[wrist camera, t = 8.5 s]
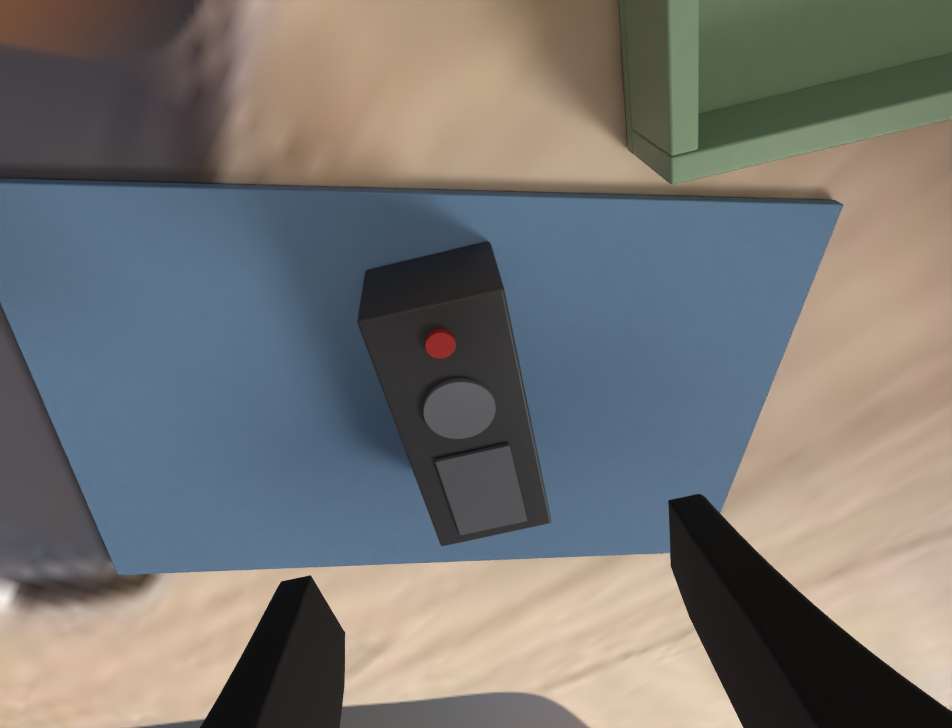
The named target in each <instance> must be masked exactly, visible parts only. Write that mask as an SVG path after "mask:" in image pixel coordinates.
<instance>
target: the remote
mask: <svg viewBox="0 0 952 728" xmlns="http://www.w3.org/2000/svg"><path fill="white" fill-rule="evenodd" d="M357 324H358V326H359V329H360V332H361V334H362V337H363V340H364V342H365V345H366V348H367V350H368V353H369V356H370V358H371V361H372V364H373V366H374V369H375V372H376V374H377V377H378V380H379V382H380V385H381V388H382V390H383V393H384V396H385V398H386V401H387V404H388V406H389V409H390V412H391V414H392V417H393V420H394V422H395V425H396V428H397V430H398V433H399V436H400V438H401V441H402V444H403V446H404V449H405V452H406V454H407V457H408V460H409V462H410V465H411V468H412V470H413V473H414V476H415V478H416V481H417V484H418V486H419V489H420V492H421V494H422V497H423V500H424V502H425V505H426V508H427V510H428V513H429V516H430V518H431V521H432V524H433V526H434V529H435V532H436V534H437V537H438V540H439V542H440V545H441V546H447V545H452V544H456V543H461V542H466V541H470V540H475V539H480V538H484V537H489V536H494V535H498V534H503V533H508V532H512V531H517V530H522V529H526V528H531V527H536V526H540V525H545V524H549V523H551V516H550V511H549V506H548V501H547V496H546V491H545V486H544V481H543V476H542V471H541V466H540V462H539V457H538V452H537V447H536V442H535V437H534V432H533V427H532V422H531V417H530V413H529V408H528V403H527V398H526V393H525V388H524V383H523V378H522V373H521V368H520V363H519V359H518V354H517V349H516V344H515V339H514V334H513V329H512V324H511V319H510V314H509V310H508V305H507V300H506V295H505V290H504V286H503V283H502V279H501V276H500V273H499V269H498V266H497V262H496V259H495V256H494V252H493V249H492V245H491V243H490V242H484V243H480V244H476V245H472V246H467V247H463V248H459V249H455V250H450V251H446V252H442V253H438V254H433V255H429V256H425V257H420V258H416V259H412V260H408V261H403V262H399V263H395V264H391V265H386V266H382V267H378V268H374V269H369V270H366V271H365V275H364V281H363V288H362V294H361V300H360V307H359V313H358V319H357Z"/></svg>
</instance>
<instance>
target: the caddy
mask: <svg viewBox="0 0 952 728" xmlns="http://www.w3.org/2000/svg"><path fill="white" fill-rule="evenodd" d="M619 11H620V27H621V43H622V59H623V75H624V91H625V107H626V123H627V139H628V150H629V151H630V152H631V153H632V154H634V155H635V156H637V157H638V158H639V159H640V160H642V161H643V162H644V163H645V164H646V165H648V166H649V167H650V168H651V169H653V170H654V171H655V172H656V173H658V174H659V175H660V176H661V177H663V178H664V179H665V180H666V181H667V182H669V183H670V184H672V185H674V184H678V183H682V182H686V181H691V180H695V179H699V178H703V177H708V176H712V175H716V174H720V173H725V172H729V171H733V170H737V169H742V168H746V167H750V166H754V165H759V164H763V163H767V162H771V161H775V160H780V159H784V158H788V157H792V156H797V155H801V154H805V153H809V152H814V151H818V150H822V149H826V148H831V147H835V146H839V145H843V144H848V143H852V142H856V141H860V140H864V139H869V138H873V137H877V136H881V135H886V134H890V133H894V132H898V131H903V130H907V129H911V128H915V127H920V126H924V125H928V124H932V123H936V122H941V121H945V120H949V119H952V0H619Z"/></svg>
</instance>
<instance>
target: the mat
mask: <svg viewBox="0 0 952 728" xmlns="http://www.w3.org/2000/svg"><path fill="white" fill-rule="evenodd" d="M842 207H843V204H841V203H839V202H837V201H836V200H809V199H771V198H733V197H695V196H657V195H618V194H580V193H542V192H504V191H466V190H428V189H390V188H351V187H313V186H275V185H237V184H199V183H161V182H123V181H85V180H46V179H8V178H0V303H1V305H2V308H3V310H4V312H5V315H6V317H7V319H8V322H9V324H10V326H11V329H12V331H13V333H14V336H15V338H16V340H17V342H18V345H19V347H20V349H21V352H22V354H23V356H24V359H25V361H26V363H27V366H28V368H29V370H30V373H31V375H32V377H33V379H34V382H35V384H36V386H37V389H38V391H39V393H40V396H41V398H42V400H43V403H44V405H45V407H46V409H47V412H48V414H49V416H50V419H51V421H52V423H53V426H54V428H55V430H56V433H57V435H58V437H59V440H60V442H61V444H62V446H63V449H64V451H65V453H66V456H67V458H68V460H69V463H70V465H71V467H72V470H73V472H74V474H75V477H76V479H77V481H78V483H79V486H80V488H81V490H82V493H83V495H84V497H85V500H86V502H87V504H88V507H89V509H90V511H91V514H92V516H93V518H94V520H95V523H96V525H97V527H98V530H99V532H100V534H101V537H102V539H103V541H104V544H105V546H106V548H107V550H108V553H109V555H110V557H111V560H112V562H113V564H114V567H115V569H116V571H117V574H118V575H128V574H153V573H178V572H203V571H229V570H254V569H279V568H304V567H329V566H354V565H379V564H404V563H430V562H455V561H480V560H505V559H530V558H555V557H580V556H605V555H630V554H656V553H670V531H669V505H668V500H671V499H676V498H681V497H686V496H690V495H695V494H701V495H703V496H705V497H706V498H707V499H708V501H709V502H710V503H711V504H712V505H713V506H714V507H715V508H716V510H717V511H718V512H719V513H720V512H721V510H722V507H723V505H724V502H725V500H726V497H727V495H728V492H729V490H730V487H731V485H732V482H733V480H734V477H735V475H736V472H737V470H738V467H739V465H740V462H741V460H742V457H743V455H744V452H745V450H746V447H747V445H748V442H749V440H750V437H751V435H752V432H753V430H754V427H755V425H756V422H757V420H758V417H759V415H760V412H761V410H762V407H763V405H764V402H765V400H766V397H767V395H768V392H769V390H770V387H771V385H772V382H773V380H774V377H775V375H776V372H777V370H778V367H779V365H780V362H781V360H782V357H783V355H784V352H785V350H786V347H787V345H788V342H789V340H790V337H791V335H792V332H793V330H794V327H795V325H796V322H797V320H798V317H799V315H800V312H801V310H802V307H803V305H804V302H805V300H806V297H807V295H808V292H809V290H810V287H811V285H812V282H813V280H814V277H815V275H816V272H817V270H818V267H819V265H820V262H821V260H822V257H823V255H824V252H825V250H826V247H827V245H828V242H829V240H830V237H831V235H832V232H833V230H834V227H835V225H836V222H837V220H838V217H839V215H840V212H841V210H842ZM484 242H490V243H491V245H492V249H493V252H494V256H495V259H496V262H497V266H498V269H499V273H500V276H501V279H502V283H503V286H504V290H505V295H506V300H507V305H508V310H509V314H510V319H511V324H512V329H513V334H514V339H515V344H516V349H517V354H518V359H519V363H520V368H521V373H522V378H523V383H524V388H525V393H526V398H527V403H528V408H529V413H530V417H531V422H532V427H533V432H534V437H535V442H536V447H537V452H538V457H539V462H540V466H541V471H542V476H543V481H544V486H545V491H546V496H547V501H548V506H549V511H550V516H551V523H549V524H545V525H540V526H536V527H531V528H526V529H522V530H517V531H512V532H508V533H503V534H498V535H494V536H489V537H484V538H480V539H475V540H470V541H466V542H461V543H456V544H452V545H447V546H441V545H440V542H439V540H438V537H437V534H436V532H435V529H434V526H433V524H432V521H431V518H430V516H429V513H428V510H427V508H426V505H425V502H424V500H423V497H422V494H421V492H420V489H419V486H418V484H417V481H416V478H415V476H414V473H413V470H412V468H411V465H410V462H409V460H408V457H407V454H406V452H405V449H404V446H403V444H402V441H401V438H400V436H399V433H398V430H397V428H396V425H395V422H394V420H393V417H392V414H391V412H390V409H389V406H388V404H387V401H386V398H385V396H384V393H383V390H382V388H381V385H380V382H379V380H378V377H377V374H376V372H375V369H374V366H373V364H372V361H371V358H370V356H369V353H368V350H367V348H366V345H365V342H364V340H363V337H362V334H361V332H360V329H359V326H358V324H357V319H358V313H359V307H360V300H361V294H362V288H363V281H364V275H365V271H366V270H369V269H374V268H378V267H382V266H386V265H391V264H395V263H399V262H403V261H408V260H412V259H416V258H420V257H425V256H429V255H433V254H438V253H442V252H446V251H450V250H455V249H459V248H463V247H467V246H472V245H476V244H480V243H484Z"/></svg>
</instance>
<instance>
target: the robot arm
mask: <svg viewBox="0 0 952 728" xmlns="http://www.w3.org/2000/svg"><path fill="white" fill-rule="evenodd" d="M668 505H669V531H670V557H671V568H672V570H673V573H674V576H675V579H676V582H677V584H678V587H679V590H680V593H681V595H682V598H683V601H684V603H685V606H686V609H687V611H688V614H689V617H690V619H691V621H692V623H693V625H694V627H695V629H696V631H697V634H698V636H699V638H700V640H701V642H702V644H703V646H704V648H705V650H706V652H707V654H708V656H709V658H710V660H711V662H712V664H713V666H714V669H715V671H716V673H717V675H718V677H719V679H720V681H721V683H722V685H723V687H724V689H725V691H726V693H727V695H728V697H729V699H730V701H731V703H732V705H733V707H734V709H735V711H736V713H737V716H738V718H739V720H740V722H741V724H742V726H743V728H952V711H950V710H949V709H947V708H946V707H945V706H943V705H942V704H940V703H939V702H937V701H936V700H935V699H933V698H932V697H931V696H929V695H928V694H926V693H925V692H924V691H922V690H921V689H920V688H918V687H917V686H915V685H914V684H913V683H911V682H910V681H909V680H907V679H906V678H904V677H903V676H902V675H900V674H899V673H898V672H896V671H895V670H894V669H893V668H891V667H890V666H889V665H887V664H886V663H885V662H883V661H882V660H881V659H879V658H878V657H877V656H875V655H874V654H873V653H872V652H870V651H869V650H868V649H867V648H865V647H864V646H863V645H862V644H860V643H859V642H858V641H857V640H855V639H854V638H853V637H852V636H850V635H849V634H848V633H847V632H846V631H844V630H843V629H842V628H841V627H840V626H838V625H837V624H836V623H835V622H834V621H833V620H831V619H830V618H829V617H828V616H827V615H825V614H824V613H823V612H822V611H821V610H820V609H818V608H817V607H816V606H815V605H814V604H813V603H812V602H810V601H809V600H808V599H807V598H806V597H805V596H804V595H803V594H801V593H800V592H799V591H798V590H797V589H796V588H795V587H794V586H793V585H792V584H791V583H789V582H788V581H787V580H786V579H785V578H784V577H783V576H782V575H781V574H780V573H779V572H778V571H777V570H776V569H774V568H773V567H772V566H771V565H770V564H769V563H768V562H767V561H766V560H765V559H764V558H763V557H762V556H761V555H760V554H759V553H758V552H757V551H756V550H755V549H754V548H753V547H752V546H751V545H750V544H749V543H748V542H747V541H746V540H745V539H744V538H743V537H742V536H741V535H740V534H739V533H738V532H737V531H736V530H735V529H734V528H733V527H732V526H731V525H730V524H729V523H728V521H727V520H726V519H725V518H724V517H723V516H722V515H721V514H720V513H719V512H718V511H717V510H716V508H715V507H714V506H713V505H712V504H711V503H710V502H709V501H708V499H707V498H706V497H705V496H703V495H701V494H695V495H690V496H686V497H681V498H676V499H671V500H668ZM344 676H345V632H344V631H343V629H342V627H341V625H340V624H339V622H338V620H337V619H336V617H335V615H334V614H333V612H332V610H331V609H330V607H329V605H328V604H327V602H326V600H325V599H324V597H323V595H322V594H321V592H320V590H319V588H318V587H317V585H316V583H315V582H314V580H313V578H312V577H311V575H310V576H306V577H301V578H296V579H291V580H287V581H282V582H281V583H280V585H279V586H278V588H277V590H276V592H275V593H274V595H273V597H272V599H271V601H270V603H269V605H268V607H267V609H266V611H265V613H264V614H263V616H262V618H261V620H260V622H259V624H258V626H257V628H256V630H255V632H254V633H253V635H252V637H251V639H250V641H249V643H248V645H247V646H246V648H245V650H244V652H243V654H242V656H241V658H240V659H239V661H238V663H237V665H236V667H235V668H234V670H233V672H232V674H231V675H230V677H229V679H228V681H227V683H226V684H225V686H224V688H223V690H222V692H221V693H220V695H219V697H218V699H217V700H216V702H215V704H214V705H213V707H212V709H211V711H210V712H209V714H208V715H207V717H206V719H205V720H204V722H203V724H202V725H201V727H200V728H339V727H340V719H341V710H342V702H343V693H344Z"/></svg>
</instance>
